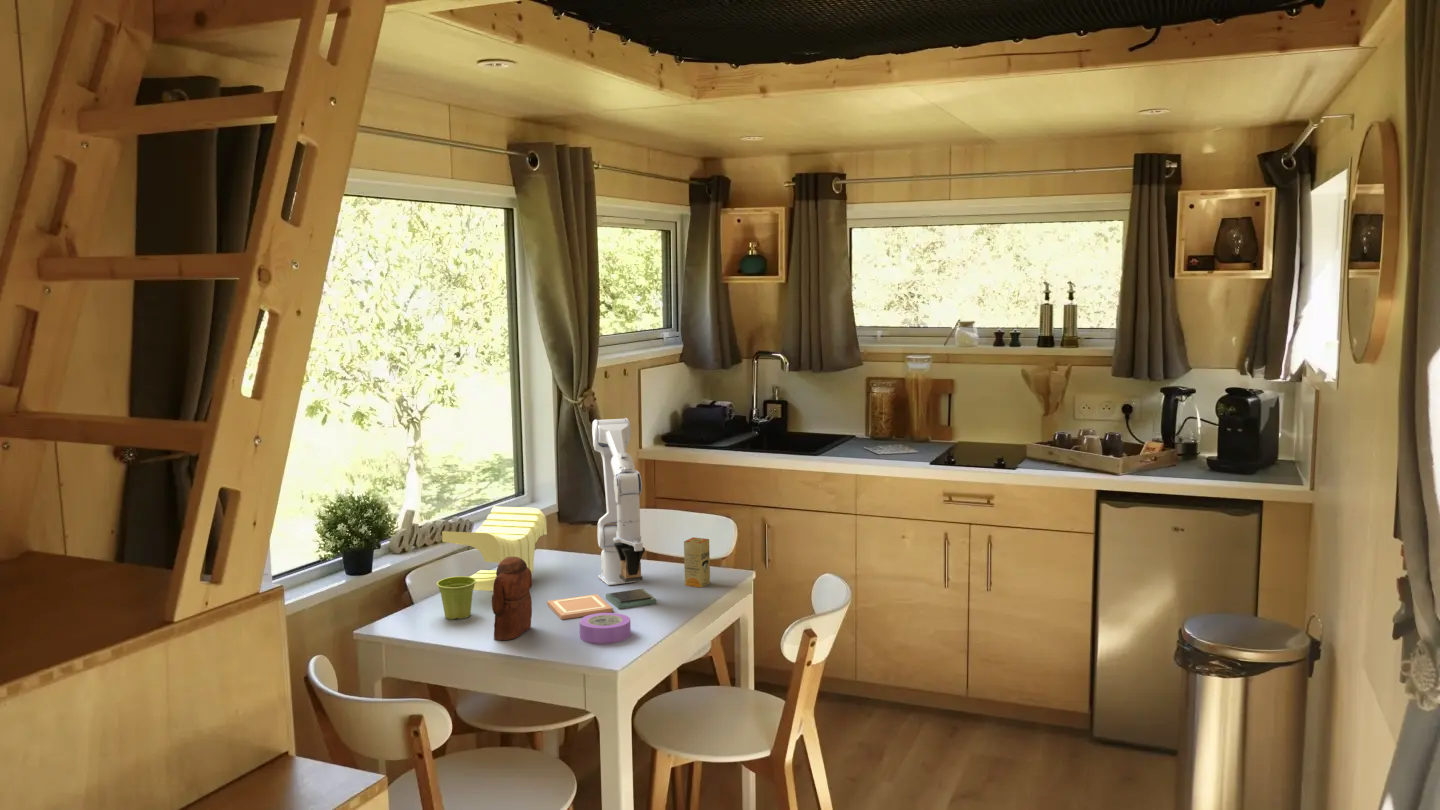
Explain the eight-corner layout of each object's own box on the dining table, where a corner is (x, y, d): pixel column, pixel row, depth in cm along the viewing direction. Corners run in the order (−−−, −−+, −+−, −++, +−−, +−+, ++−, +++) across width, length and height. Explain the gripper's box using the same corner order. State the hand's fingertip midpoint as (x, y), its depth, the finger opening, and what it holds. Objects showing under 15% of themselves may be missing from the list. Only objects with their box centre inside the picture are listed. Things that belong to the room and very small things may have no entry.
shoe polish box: (710, 582, 287) (709, 539, 286) (701, 587, 283) (700, 543, 282) (693, 580, 290) (693, 537, 288) (684, 585, 285) (683, 541, 284)
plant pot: (485, 613, 264) (484, 579, 263) (457, 624, 256) (455, 589, 255) (459, 607, 269) (457, 574, 268) (430, 618, 261) (428, 583, 260)
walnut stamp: (619, 577, 273) (618, 553, 272) (636, 575, 275) (635, 551, 274) (625, 582, 269) (624, 557, 268) (642, 579, 271) (642, 555, 270)
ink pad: (605, 598, 275) (605, 592, 275) (642, 593, 279) (642, 587, 279) (618, 609, 266) (618, 603, 266) (656, 603, 270) (656, 597, 270)
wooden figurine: (511, 624, 255) (508, 550, 253) (536, 626, 254) (533, 552, 252) (488, 640, 244) (484, 563, 242) (513, 642, 242) (510, 565, 240)
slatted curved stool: (502, 601, 273) (499, 533, 271) (445, 598, 277) (442, 531, 275) (548, 570, 302) (545, 508, 300) (496, 567, 306) (493, 506, 304)
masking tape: (606, 624, 255) (605, 609, 254) (641, 634, 247) (640, 618, 247) (569, 637, 246) (568, 621, 246) (604, 648, 239) (604, 631, 238)
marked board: (547, 604, 270) (547, 600, 270) (596, 597, 275) (596, 593, 275) (561, 619, 258) (561, 615, 258) (612, 611, 264) (612, 607, 263)
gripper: (604, 515, 275) (605, 567, 276) (623, 527, 262) (624, 581, 263) (630, 512, 278) (631, 563, 279) (650, 524, 264) (651, 578, 266)
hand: (630, 572), depth 271 cm, fingers closed on walnut stamp, 4 cm apart
